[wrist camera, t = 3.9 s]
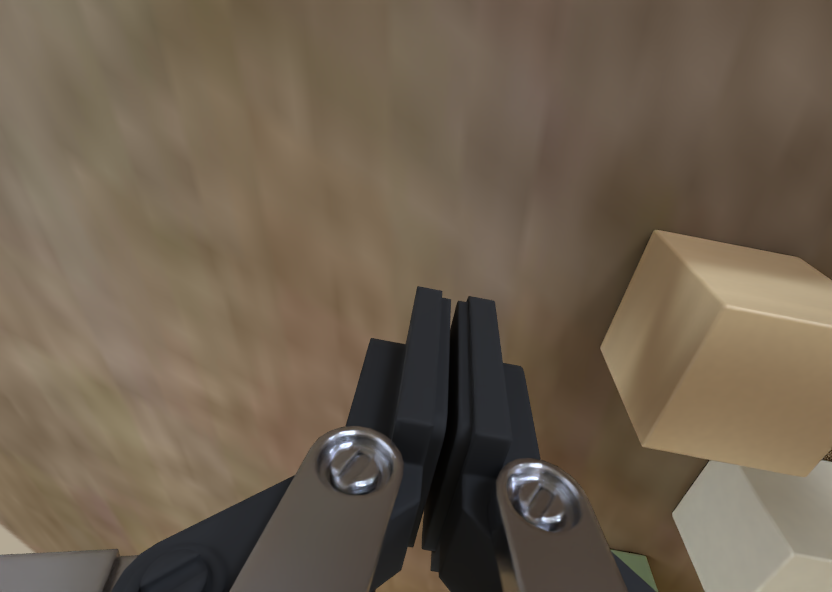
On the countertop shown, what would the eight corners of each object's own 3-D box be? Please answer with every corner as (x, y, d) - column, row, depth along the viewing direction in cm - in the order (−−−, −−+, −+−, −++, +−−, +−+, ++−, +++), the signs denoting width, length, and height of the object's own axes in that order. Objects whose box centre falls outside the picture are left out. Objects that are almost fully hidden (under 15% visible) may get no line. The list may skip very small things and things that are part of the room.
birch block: (653, 228, 13) (725, 305, 10) (800, 256, 13) (926, 344, 10) (598, 348, 15) (640, 448, 12) (725, 372, 15) (806, 479, 12)
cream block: (722, 440, 17) (793, 554, 13) (837, 461, 17) (940, 582, 13) (670, 513, 19) (719, 630, 15) (773, 533, 19) (846, 653, 15)
